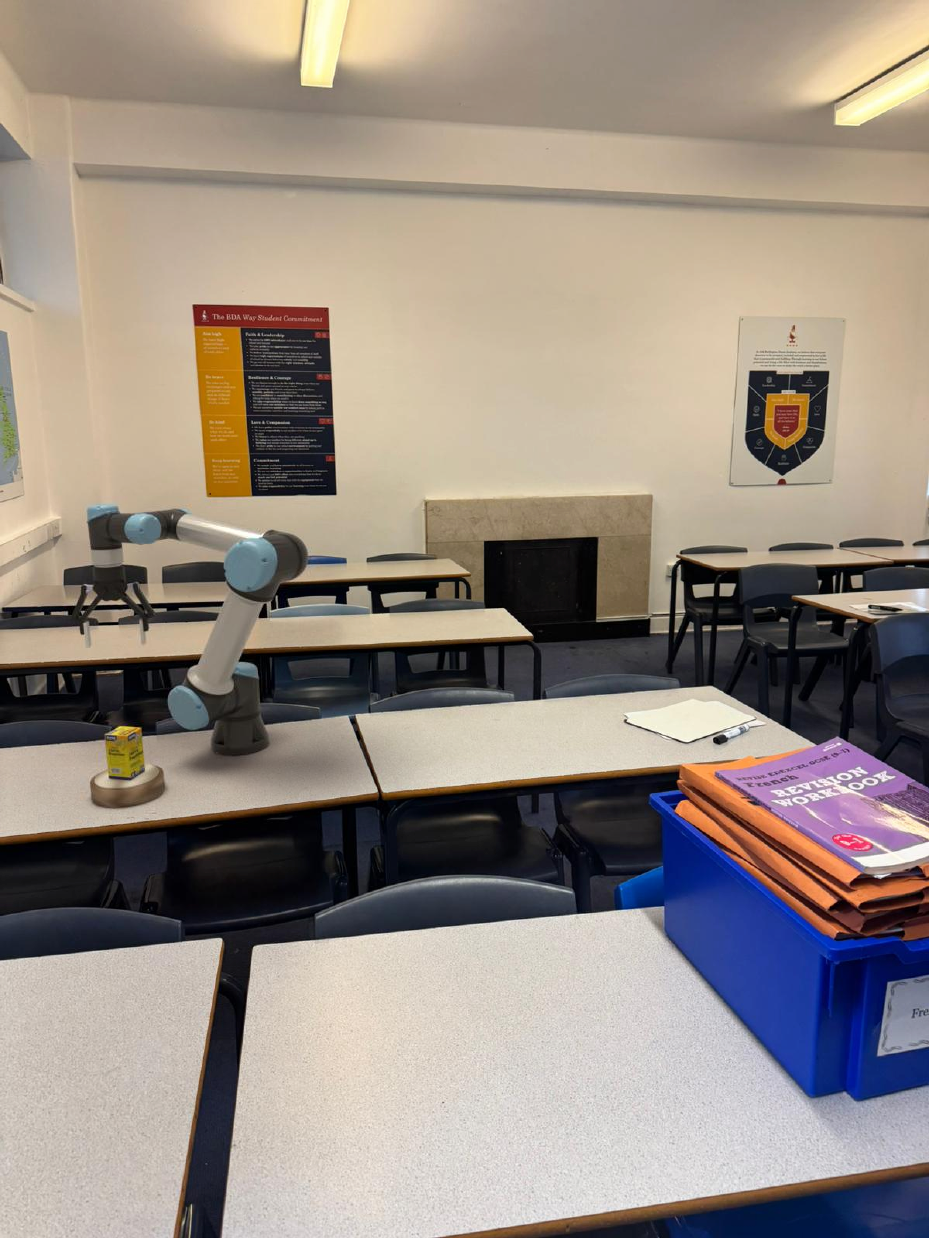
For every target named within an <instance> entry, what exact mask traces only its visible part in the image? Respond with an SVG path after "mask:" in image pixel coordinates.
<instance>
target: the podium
mask: <svg viewBox="0 0 929 1238" xmlns="http://www.w3.org/2000/svg"><path fill="white" fill-rule="evenodd" d="M144 764H145V771H144V772H143V773H141V774H139V775H137V776H136V777H134V778H133V779H132V780H121V779H110V778H109V775H108V768H107V769H105V770H103V771H101V772H99V773H97V774H96V775H94V776H93V777H92V778H91V779H90V782H89V787H90V788H89V789H90V796H91V802H92V803H93V804H94V805H96V806H98V807H101V808H107V809H108V808H111V809H120V808H130V807H135V806H139V805H143V804H145V803H148V802H152V801H153V800H155V799H158V797H160V796H161V795H162V794H163V793H164V792H165V790H166V785H165V784H166V783H165V774H164V773H165V772H164V770H163V768H162V767H160V766H158V765H155V764H150V763H149V764H148V763H144Z"/></svg>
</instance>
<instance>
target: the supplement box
mask: <svg viewBox="0 0 929 1238" xmlns="http://www.w3.org/2000/svg"><path fill="white" fill-rule="evenodd" d="M104 743H105V752H106V753H105V754H106V764H107V765H106V766H107V769H108V775H109V778H110V779H121V780H132V779H133V778H134V777H136V776H137V775H139V774H141V773H143V772H144V771H145V764H146V763H145V754H144V743H143V732H142V727H135V726H125V725H123V726H121V725H119V726H118V727H116V728H114V729H113V730H111V731H109V732H107V733H105V734H104Z"/></svg>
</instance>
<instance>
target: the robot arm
mask: <svg viewBox="0 0 929 1238" xmlns="http://www.w3.org/2000/svg"><path fill="white" fill-rule="evenodd" d="M86 509H87V510H86V518H87V520H86V524H87V529H88V537H89V547H90V556H91V557H90V558H91V564H92V565H93V567H92V578H93V584H88V583H84V584H83V585H81V586H80V595H79V597H78V600H77V602H76V605H75V606H74V609H73V611H72V614H71V616H70V621H72V622H77V623H78V627H79V633H80V635H81V636H84V642H85V648H86V649H88V648H90V647H91V646H92V639H91V631H90V630H91V629H90V621H88V620H87V618H88V617H89V616H90V615H91V614H92V612H93V611H94V610H95V609H96V607H97V606H98V604H100V602H101V601H103V602H112V601H113V602H117V601H120V600H121V601H122V602H123V603H124V604H126V605H127V606H128V607H129V608H130V609H131V610H132V611H133V612H134V613H135V614H136V615H138V617H140V619H139V623H138V624H139V635H140V644H141V645H142V646H144V645H145V644H147V637H146V632H148V631H149V629H150V624H149V619H150V618H153V617H154V616H155V615H156V611H155V609H153V607H152V606H151V604H150V603H149V601H148V599H147V598H146V596H145V595H144V593H143V592H142V590H141V587H140V586H141V585H140V582H138V581H134V582H131V583H128V582H127V581H126V571H125V569H126V568H125V566H124V564H123V563H124V562H125V560H124V553H123V544H133V545H134V544H135V545H141V546H142V545H152V544H154V543H156V542H158V541H164V540H175V541H179V542H183V543H187V544H190V545H194V546H198V547H201V548H205V549H209V550H213V551H217V552H221V553H224V554H225V557H224V560H223V569H224V570H225V572H224V576H225V579H226V580H225V585H226V587H227V589H228V592H227V593H226V597H225V599H224V602H223V604H222V606H221V608H220V611H219V613H218V615H217V618H216V620H215V623H214V625H213V628H212V630H211V632H210V635H209V637H208V640H207V642H206V644H205V646H204V649H203V651H202V654H201V656H200V659H199V661H198V664H195V665H193V666H191V667H190V668H189V669H188V670H187V673H186V676H185V678H184V680H183V683H181V685H176V686H175V687H174V688H173V689H171V690H170V692H169V694H168V697H167V706H168V710H169V711H170V714H171V717H172V718H173V720H174V721H175V722H176V723H177V724H179V726H181V727H182V728H184V729H187V730H191V731H194V730H198V729H201V728H205V727H207V726H208V725H211V724H213V723H214V722H215V724H214V727H213V730H212V735H211V738H210V748H211V751H212V752H214V753H216V754H218V755H225V756H241V755H248V754H253V753H256V752H258V751H259V752H260V751H261V750H263V749H265V748H267V746H268V745H269V744H270V742H269V738H270V737H269V733H268V731H267V728H266V725H265V723H264V721H263V719H262V716H261V702H260V701H261V699H260V682H259V681H260V677H259V674H258V673H259V672H258V667H257V665H255V664H253V663H251V662H245V661H239V660H240V658H241V656H242V654H243V652H244V649H245V647H246V645H247V642H248V640H249V638H250V635H251V633H252V631H253V628H254V627H255V624H256V622H257V621H258V618H259V616H260V612H261V611H262V608H263V606H264V604H268V603H271V602H272V601H273V600H274V598H275V595H276V593H277V591H278V588H279V586H280V585H281V584H283V583H286V582H290V581H293V580H294V579H295V580H296V578H298V577H300V576H301V575H302V574H303V573H304V572H305V570H306V568H307V566H308V562H309V552H308V549H307V546H306V544H305V543H304V541H303V540H302V539H301V538H299V537H298V536H296V535H295V534H292V533H289V532H284V531H279V530H277V529H276V530H275V529H267V530H265V531H261V530H258V529H252V528H251V527H244V526H240V525H236V524H232V523H230V522H224V521H221V520H220V521H219V520H215V519H212V518H207V517H204V516H200V515H199V516H198V515H194V514H192V512H190V511H189V510H187V509H186V508H170V509H164V510H156V511H144V512H136V513H135V512H132V513H130V512H129V513H128V512H127V513H126V512H125V513H122V512H120V509H119V506H118V505H116V504H114V503H113V504H112V503H111V504H110V503H109V504H107V503H105V504H91V505H89V506H88V507H87V508H86ZM128 589H130V591H131V592H133V593H134V594H135V596H136V598H137V600H138V601H139V603H140V604H141V606H142V607H143V609H142V607H140V606H139V605H138V603H136V602H135V601H134V600H133V599H132V598H131V597H130V596H129V595H128V593H127V592H128V591H127V590H128ZM91 591H93V592H94V593H95V594H96V595H97V596H96V597H95V598H94V599H93V601H92V602H91V603H90V604H89V606H88V607H87V608H86V609H85V611H84V612H83V613H82V614H81V611H82V609H83V606H84V603H85V601H86V599H87V596H88V594H90V593H91ZM80 614H81V616H80Z"/></svg>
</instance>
